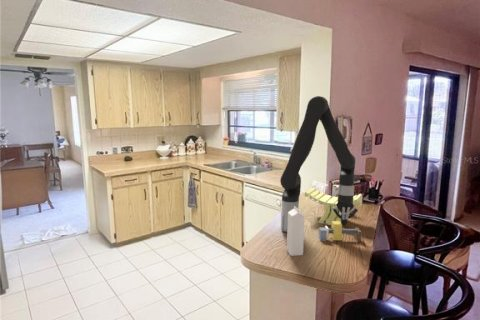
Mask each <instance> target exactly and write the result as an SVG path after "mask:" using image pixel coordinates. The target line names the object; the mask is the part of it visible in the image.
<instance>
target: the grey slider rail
mask: <svg viewBox="0 0 480 320" xmlns="http://www.w3.org/2000/svg"><path fill="white" fill-rule="evenodd" d="M359 230H360V231H361V229H360V228H359ZM361 232H362V231H361ZM331 233H333V229H331V228H329V234H331ZM342 234H346V235H348V234H349V235H350V234H353V235H354V234H357V230H356V229H355V228H342Z"/></svg>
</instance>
